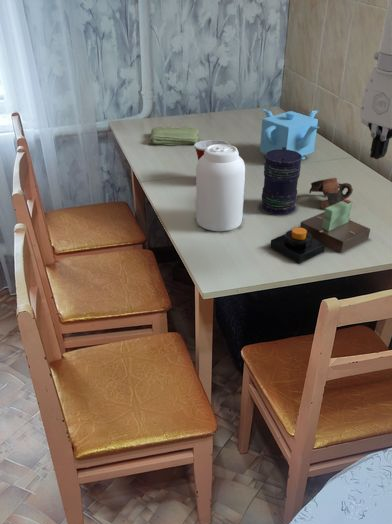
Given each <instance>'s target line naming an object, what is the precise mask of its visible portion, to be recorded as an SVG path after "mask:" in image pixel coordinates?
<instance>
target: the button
mask: <svg viewBox="0 0 392 524" xmlns="http://www.w3.org/2000/svg"><path fill="white" fill-rule="evenodd" d="M291 230H292V235H291V237H292V238H294V239H298V240H303V239H305V238H306V234H307V230H306V229H304V228H300V226H298V227H297V226H296V227H294V228H292V229H291Z"/></svg>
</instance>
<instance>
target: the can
mask: <svg viewBox="0 0 392 524" xmlns="http://www.w3.org/2000/svg"><path fill="white" fill-rule="evenodd" d="M195 171H196V173H195V175H196V176H195V177H196V178H195V179H196V181H195V182H196V183H195V185H196V187H195V188H196V189H195V190H196V193H195V195H196V196H195V201H196V202H195V213H196V214H195V219H196V222H197V224H198V225H199V226H200V227H201V228H203V229H205V230H208V231H212V232H227V231H230V230H231V231H232V230H234V229H236V228H238V227H239V226H240V225H241V224H242V222H243V212H244V198H245V197H244V196H245V195H244V194H245V183H246V182H245V181H246V180H245V178H246V164H245V161H244V159H243V158H242V157H241V156H240V155H239V150H238V148H237V147H236V146H234V145H232V144H230V145H227V144H215V145H210V146H208V147H206V149H205V151H204V155H203V156H202V157H201V158H200V159H199V161H198V160H197V164H196V168H195Z"/></svg>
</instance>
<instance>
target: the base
mask: <svg viewBox="0 0 392 524" xmlns="http://www.w3.org/2000/svg"><path fill="white" fill-rule="evenodd" d="M324 214H325V211H323V212H321V213H318V214H316V215H313V216H312V217H309V218H307V219H304V220H303V221H300V224H299V227H300V228H304V229H306V230H307V232H309V233H311V235H312V238H314V239H316V240H318V241H320V242H322V243H324V244H325V247H329V248H331V249H333V250H335V251H337V252H339V253H343V252H346V251H347V250H350V249H351V248H354V247H356V246H358V245H359V244H362V243H364V242H366V241H368V240H369V237H370V234H371V228H369V227H367V226H365V225H362V224H360V223H358V222H355V221H353V220H352V218H351V217H349V221H348V223H345V224H343V225H341V226H339V227H337V228H335V229H332V230H330V231H327V230H325V229H323V228H322V226H323V220H324Z"/></svg>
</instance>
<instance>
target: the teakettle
mask: <svg viewBox="0 0 392 524" xmlns="http://www.w3.org/2000/svg"><path fill="white" fill-rule="evenodd" d="M262 110H263V112H264V113H265V115H266V117H264V118H262V120H261V133H260V146H259V152H260V153H263V154H265V155H266V153H267V152H269V151H271V150H277V149H282V147H286V148H287V149H286V150H292V151H295V152H298V153H299V154H301V156H302V158H301V160H305V159H306V155H309V154H313V153H314V152H315V145H316V139H317V131H318V129H320V128H321V126H319V125H318V123H319V119H317V118H315V116H316V115H317V113H318V112H319V110H312V111H311V112H310V113H309V114H308V115H305V114H302V113H299V112H296V111H293V110H290V111H286V112H283V113H279V114H275V115H273V113H272V111H271V110H269V109H267V108H263V109H262Z"/></svg>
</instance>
